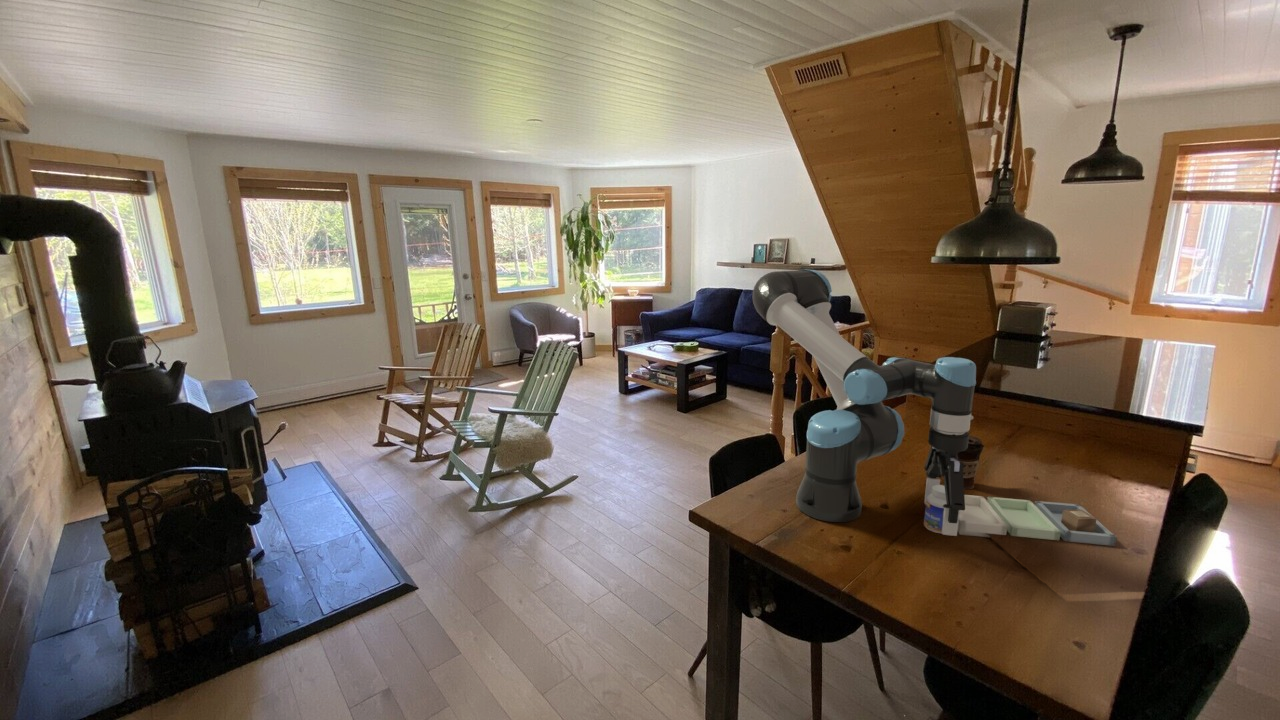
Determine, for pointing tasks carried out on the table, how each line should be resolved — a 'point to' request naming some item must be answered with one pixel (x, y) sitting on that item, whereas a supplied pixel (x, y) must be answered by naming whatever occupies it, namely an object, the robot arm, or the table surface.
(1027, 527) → the bin mid
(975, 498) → the bin
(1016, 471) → the table surface
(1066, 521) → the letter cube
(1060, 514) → the bin
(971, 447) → the coffee cup
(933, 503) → the pill bottle
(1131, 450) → the table surface
